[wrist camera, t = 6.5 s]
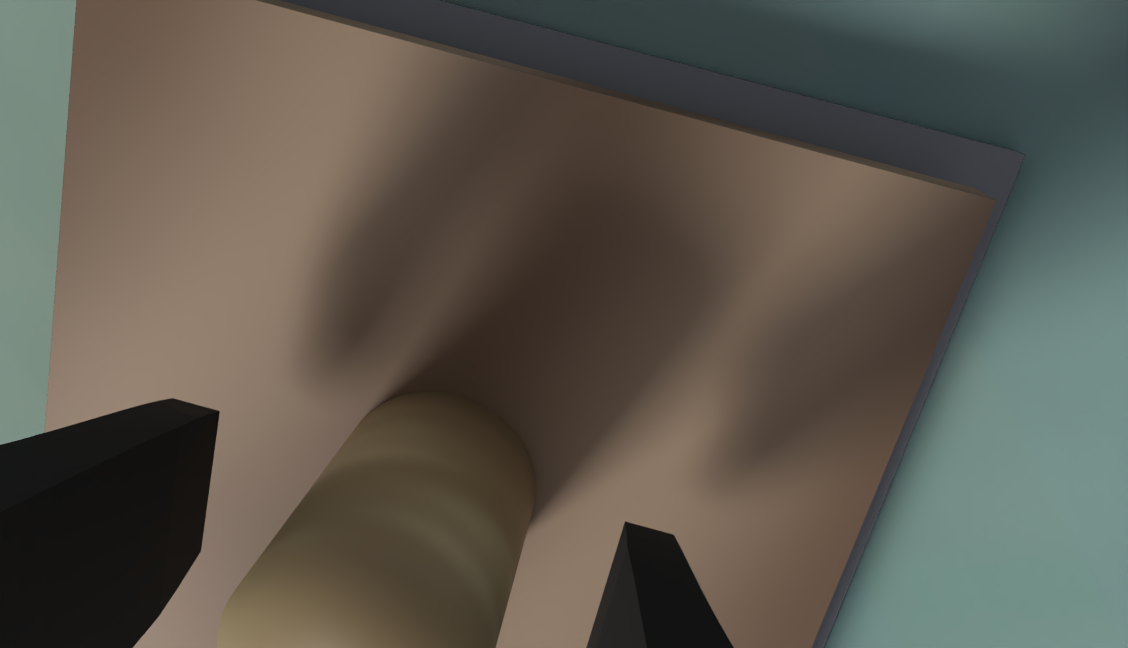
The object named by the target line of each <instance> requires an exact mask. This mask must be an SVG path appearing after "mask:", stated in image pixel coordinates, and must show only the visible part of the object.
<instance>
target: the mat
mask: <svg viewBox="0 0 1128 648" xmlns="http://www.w3.org/2000/svg"><path fill="white" fill-rule="evenodd" d="M280 1H284V2H288V3H291V4H295V5H299V6H303V7H306V8H310V9H314V10H317V11H321V12H325V13H328V14H332V15H336V16H340V17H343V18H347V19H351V20H354V21H358V22H362V23H365V24H369V25H373V26H377V27H380V28H384V29H388V30H391V31H395V32H399V33H402V34H406V35H410V36H414V37H417V38H421V39H425V40H428V41H432V42H436V43H439V44H443V45H447V46H451V47H454V48H458V49H462V50H465V51H469V52H473V53H476V54H480V55H484V56H487V57H491V58H495V59H499V60H502V61H506V62H510V63H513V64H517V65H521V66H524V67H528V68H532V69H536V70H539V71H543V72H547V73H550V74H554V75H558V76H561V77H565V78H569V79H573V80H576V81H580V82H584V83H587V84H591V85H595V86H598V87H602V88H606V89H610V90H613V91H617V92H621V93H624V94H628V95H632V96H635V97H639V98H643V99H647V100H650V101H654V102H658V103H661V104H665V105H669V106H672V107H676V108H680V109H684V110H687V111H691V112H695V113H698V114H702V115H706V116H709V117H713V118H717V119H721V120H724V121H728V122H732V123H735V124H739V125H743V126H746V127H750V128H754V129H758V130H761V131H765V132H769V133H772V134H776V135H780V136H783V137H787V138H791V139H795V140H798V141H802V142H806V143H809V144H813V145H817V146H820V147H824V148H828V149H831V150H835V151H839V152H843V153H846V154H850V155H854V156H857V157H861V158H865V159H868V160H872V161H876V162H880V163H883V164H887V165H891V166H894V167H898V168H902V169H905V170H909V171H913V172H917V173H920V174H924V175H928V176H931V177H935V178H939V179H942V180H946V181H950V182H954V183H957V184H961V185H965V186H968V187H972V188H976V189H978V190H979V191H981V192H983V193H984V194H986V195H988V196H989V197H991V198H993V199H994V200H996V202H995V205H994V207H993V210H992V212H991V214H990V217H989V219H988V222H987V224H986V227H985V229H984V231H983V234H982V236H981V239H980V241H979V244H978V246H977V248H976V251H975V253H974V256H973V258H972V260H971V263H970V265H969V268H968V270H967V273H966V275H965V277H964V280H963V282H962V285H961V287H960V289H959V292H958V294H957V297H956V299H955V302H954V304H953V306H952V309H951V311H950V314H949V316H948V319H947V321H946V323H945V326H944V328H943V331H942V333H941V335H940V338H939V340H938V343H937V345H936V348H935V350H934V352H933V355H932V357H931V360H930V362H929V364H928V367H927V369H926V372H925V374H924V377H923V379H922V381H921V384H920V386H919V389H918V391H917V394H916V396H915V398H914V401H913V403H912V406H911V408H910V410H909V413H908V415H907V418H906V420H905V423H904V425H903V427H902V430H901V432H900V435H899V437H898V439H897V442H896V444H895V447H894V449H893V452H892V454H891V456H890V459H889V461H888V464H887V466H886V469H885V471H884V473H883V476H882V478H881V481H880V483H879V485H878V488H877V490H876V493H875V495H874V498H873V500H872V502H871V505H870V507H869V510H868V512H867V514H866V517H865V519H864V522H863V524H862V527H861V529H860V531H859V534H858V536H857V539H856V541H855V543H854V546H853V548H852V551H851V553H850V556H849V558H848V560H847V563H846V565H845V568H844V570H843V573H842V575H841V577H840V580H839V582H838V585H837V587H836V589H835V592H834V594H833V597H832V599H831V602H830V604H829V606H828V609H827V611H826V614H825V616H824V618H823V621H822V623H821V626H820V628H819V631H818V633H817V635H816V638H815V640H814V643H813V645H812V648H824V646H825V644H826V641H827V639H828V636H829V634H830V631H831V629H832V626H833V624H834V622H835V619H836V617H837V614H838V612H839V609H840V607H841V604H842V602H843V600H844V597H845V595H846V592H847V590H848V587H849V585H850V582H851V580H852V578H853V575H854V573H855V570H856V568H857V565H858V563H859V560H860V558H861V556H862V553H863V551H864V548H865V546H866V543H867V541H868V538H869V536H870V534H871V531H872V529H873V526H874V524H875V521H876V519H877V516H878V514H879V512H880V509H881V507H882V504H883V502H884V499H885V497H886V494H887V492H888V490H889V487H890V485H891V482H892V480H893V477H894V475H895V473H896V470H897V468H898V465H899V463H900V460H901V458H902V455H903V453H904V451H905V448H906V446H907V443H908V441H909V438H910V436H911V433H912V431H913V429H914V426H915V424H916V421H917V419H918V416H919V414H920V411H921V409H922V407H923V404H924V402H925V399H926V397H927V394H928V392H929V389H930V387H931V385H932V382H933V380H934V377H935V375H936V372H937V370H938V367H939V365H940V363H941V360H942V358H943V355H944V353H945V350H946V348H947V345H948V343H949V341H950V338H951V336H952V333H953V331H954V328H955V326H956V323H957V321H958V319H959V316H960V314H961V311H962V309H963V306H964V304H965V301H966V299H967V297H968V294H969V292H970V289H971V287H972V284H973V282H974V280H975V277H976V275H977V272H978V270H979V267H980V265H981V262H982V260H983V258H984V255H985V253H986V250H987V248H988V245H989V243H990V240H991V238H992V236H993V233H994V231H995V228H996V226H997V223H998V221H999V218H1000V216H1001V214H1002V211H1003V209H1004V206H1005V204H1006V201H1007V199H1008V196H1009V194H1010V192H1011V189H1012V187H1013V184H1014V182H1015V179H1016V177H1017V174H1018V172H1019V170H1020V167H1021V165H1022V162H1023V160H1024V157H1025V154H1022V153H1020V152H1018V151H1014V150H1010V149H1006V148H1002V147H998V146H995V145H991V144H987V143H983V142H979V141H976V140H972V139H968V138H964V137H960V136H956V135H953V134H949V133H945V132H941V131H937V130H933V129H930V128H926V127H922V126H918V125H914V124H911V123H907V122H903V121H899V120H895V119H891V118H888V117H884V116H880V115H876V114H872V113H869V112H865V111H861V110H857V109H853V108H849V107H846V106H842V105H838V104H834V103H830V102H826V101H823V100H819V99H815V98H811V97H807V96H804V95H800V94H796V93H792V92H788V91H784V90H781V89H777V88H773V87H769V86H765V85H762V84H758V83H754V82H750V81H746V80H742V79H739V78H735V77H731V76H727V75H723V74H719V73H716V72H712V71H708V70H704V69H700V68H697V67H693V66H689V65H685V64H681V63H677V62H674V61H670V60H666V59H662V58H658V57H655V56H651V55H647V54H643V53H639V52H635V51H632V50H628V49H624V48H620V47H616V46H612V45H609V44H605V43H601V42H597V41H593V40H590V39H586V38H582V37H578V36H574V35H570V34H567V33H563V32H559V31H555V30H551V29H548V28H544V27H540V26H536V25H532V24H528V23H525V22H521V21H517V20H513V19H509V18H506V17H502V16H498V15H494V14H490V13H486V12H483V11H479V10H475V9H471V8H467V7H463V6H460V5H456V4H452V3H448V2H444V1H441V0H280Z"/></svg>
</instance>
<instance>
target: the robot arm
mask: <svg viewBox="0 0 1128 648" xmlns="http://www.w3.org/2000/svg"><path fill="white" fill-rule="evenodd" d="M219 414H220V411H218V410H214V409H211V408H207V407H203V406H200V405H196V404H192V403H189V402H185V401H181V400H178V399H174V398H170V399H165V400H160V401H155V402H151V403H147V404H143V405H139V406H135V407H132V408H128V409H124V410H121V411H118V412H114V413H111V414H107V415H104V416H100V417H97V418H94V419H90V420H87V421H84V422H80V423H77V424H73V425H70V426H66V427H63V428H60V429H56V430H53V431H49V432H46V433H42V434H39V435H36V436H32V437H29V438H25V439H22V440H18V441H14V442H10V443H6V444H2V445H0V648H133V647H134V646H135V644H136V643H137V642H138V641H139V640H140V638H141V637H142V636H143V635H144V634H145V633H146V631H147V630H148V629H149V628H150V627H151V625H152V624H153V623H154V622H155V621H156V619H157V618H158V617H159V616H160V614H161V613H162V611H163V610H164V608H165V607H166V605H167V604H168V602H169V601H170V599H171V598H172V596H173V595H174V593H175V592H176V590H177V589H178V587H179V586H180V584H181V582H182V581H183V579H184V578H185V576H186V574H187V573H188V571H189V570H190V568H191V566H192V565H193V563H194V562H195V560H196V558H197V557H198V555H199V554H200V552H201V548H202V540H203V533H204V526H205V518H206V511H207V503H208V496H209V488H210V481H211V473H212V466H213V459H214V451H215V444H216V436H217V429H218V421H219ZM586 648H734V647H733V645H732V644H731V642H730V640H729V638H728V637H727V635H726V633H725V632H724V630H723V628H722V626H721V625H720V623H719V621H718V619H717V618H716V616H715V614H714V612H713V610H712V608H711V606H710V605H709V603H708V601H707V599H706V597H705V595H704V593H703V591H702V589H701V587H700V585H699V583H698V581H697V579H696V577H695V575H694V573H693V571H692V569H691V567H690V565H689V563H688V561H687V559H686V557H685V555H684V553H683V551H682V549H681V547H680V545H679V543H678V541H677V540H676V538H675V536H674V535H673V534H670V533H666V532H662V531H659V530H655V529H651V528H648V527H644V526H640V525H637V524H633V523H629V522H626V521H625V523H624V526H623V530H622V533H621V536H620V539H619V543H618V546H617V549H616V552H615V556H614V559H613V562H612V565H611V569H610V572H609V575H608V579H607V582H606V585H605V588H604V592H603V595H602V598H601V601H600V605H599V608H598V611H597V614H596V618H595V621H594V624H593V627H592V631H591V634H590V637H589V641H588V644H587V647H586Z"/></svg>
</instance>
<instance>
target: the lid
mask: <svg viewBox="0 0 1128 648" xmlns="http://www.w3.org/2000/svg"><path fill="white" fill-rule="evenodd" d="M995 202H996V200H994V199H993V198H991V197H989V196H988V195H986V194H984V193H983V192H981V191H979V190H978V189H976V188H972V187H968V186H965V185H961V184H957V183H954V182H950V181H946V180H942V179H939V178H935V177H931V176H928V175H924V174H920V173H917V172H913V171H909V170H905V169H902V168H898V167H894V166H891V165H887V164H883V163H880V162H876V161H872V160H868V159H865V158H861V157H857V156H854V155H850V154H846V153H843V152H839V151H835V150H831V149H828V148H824V147H820V146H817V145H813V144H809V143H806V142H802V141H798V140H795V139H791V138H787V137H783V136H780V135H776V134H772V133H769V132H765V131H761V130H758V129H754V128H750V127H746V126H743V125H739V124H735V123H732V122H728V121H724V120H721V119H717V118H713V117H709V116H706V115H702V114H698V113H695V112H691V111H687V110H684V109H680V108H676V107H672V106H669V105H665V104H661V103H658V102H654V101H650V100H647V99H643V98H639V97H635V96H632V95H628V94H624V93H621V92H617V91H613V90H610V89H606V88H602V87H598V86H595V85H591V84H587V83H584V82H580V81H576V80H573V79H569V78H565V77H561V76H558V75H554V74H550V73H547V72H543V71H539V70H536V69H532V68H528V67H524V66H521V65H517V64H513V63H510V62H506V61H502V60H499V59H495V58H491V57H487V56H484V55H480V54H476V53H473V52H469V51H465V50H462V49H458V48H454V47H451V46H447V45H443V44H439V43H436V42H432V41H428V40H425V39H421V38H417V37H414V36H410V35H406V34H402V33H399V32H395V31H391V30H388V29H384V28H380V27H377V26H373V25H369V24H365V23H362V22H358V21H354V20H351V19H347V18H343V17H340V16H336V15H332V14H328V13H325V12H321V11H317V10H314V9H310V8H306V7H303V6H299V5H295V4H291V3H288V2H284V1H280V0H76V13H75V27H74V40H73V54H72V67H71V81H70V94H69V108H68V121H67V135H66V149H65V162H64V176H63V189H62V203H61V216H60V230H59V243H58V257H57V270H56V284H55V298H54V311H53V325H52V338H51V352H50V365H49V379H48V392H47V406H46V419H45V433H46V432H49V431H53V430H56V429H60V428H63V427H66V426H70V425H73V424H77V423H80V422H84V421H87V420H90V419H94V418H97V417H100V416H104V415H107V414H111V413H114V412H118V411H121V410H124V409H128V408H132V407H135V406H139V405H143V404H147V403H151V402H155V401H160V400H165V399H170V398H174V399H178V400H181V401H185V402H189V403H192V404H196V405H200V406H203V407H207V408H211V409H214V410H218V411H220V414H219V421H218V429H217V436H216V444H215V451H214V459H213V466H212V473H211V481H210V488H209V496H208V503H207V511H206V518H205V526H204V533H203V540H202V548H201V552H200V554H199V555H198V557H197V558H196V560H195V562H194V563H193V565H192V566H191V568H190V570H189V571H188V573H187V574H186V576H185V578H184V579H183V581H182V582H181V584H180V586H179V587H178V589H177V590H176V592H175V593H174V595H173V596H172V598H171V599H170V601H169V602H168V604H167V605H166V607H165V608H164V610H163V611H162V613H161V614H160V616H159V617H158V618H157V619H156V621H155V622H154V623H153V624H152V625H151V627H150V628H149V629H148V630H147V631H146V633H145V634H144V635H143V636H142V637H141V638H140V640H139V641H138V642H137V643H136V644H135V646H134V647H133V648H586V647H587V644H588V641H589V637H590V634H591V631H592V627H593V624H594V621H595V618H596V614H597V611H598V608H599V605H600V601H601V598H602V595H603V592H604V588H605V585H606V582H607V579H608V575H609V572H610V569H611V565H612V562H613V559H614V556H615V552H616V549H617V546H618V543H619V539H620V536H621V533H622V530H623V526H624V523H625V521H626V522H629V523H633V524H637V525H640V526H644V527H648V528H651V529H655V530H659V531H662V532H666V533H670V534H673V535H674V536H675V538H676V540H677V541H678V543H679V545H680V547H681V549H682V551H683V553H684V555H685V557H686V559H687V561H688V563H689V565H690V567H691V569H692V571H693V573H694V575H695V577H696V579H697V581H698V583H699V585H700V587H701V589H702V591H703V593H704V595H705V597H706V599H707V601H708V603H709V605H710V606H711V608H712V610H713V612H714V614H715V616H716V618H717V619H718V621H719V623H720V625H721V626H722V628H723V630H724V632H725V633H726V635H727V637H728V638H729V640H730V642H731V644H732V645H733V647H734V648H812V645H813V643H814V640H815V638H816V635H817V633H818V631H819V628H820V626H821V623H822V621H823V618H824V616H825V614H826V611H827V609H828V606H829V604H830V602H831V599H832V597H833V594H834V592H835V589H836V587H837V585H838V582H839V580H840V577H841V575H842V573H843V570H844V568H845V565H846V563H847V560H848V558H849V556H850V553H851V551H852V548H853V546H854V543H855V541H856V539H857V536H858V534H859V531H860V529H861V527H862V524H863V522H864V519H865V517H866V514H867V512H868V510H869V507H870V505H871V502H872V500H873V498H874V495H875V493H876V490H877V488H878V485H879V483H880V481H881V478H882V476H883V473H884V471H885V469H886V466H887V464H888V461H889V459H890V456H891V454H892V452H893V449H894V447H895V444H896V442H897V439H898V437H899V435H900V432H901V430H902V427H903V425H904V423H905V420H906V418H907V415H908V413H909V410H910V408H911V406H912V403H913V401H914V398H915V396H916V394H917V391H918V389H919V386H920V384H921V381H922V379H923V377H924V374H925V372H926V369H927V367H928V364H929V362H930V360H931V357H932V355H933V352H934V350H935V348H936V345H937V343H938V340H939V338H940V335H941V333H942V331H943V328H944V326H945V323H946V321H947V319H948V316H949V314H950V311H951V309H952V306H953V304H954V302H955V299H956V297H957V294H958V292H959V289H960V287H961V285H962V282H963V280H964V277H965V275H966V273H967V270H968V268H969V265H970V263H971V260H972V258H973V256H974V253H975V251H976V248H977V246H978V244H979V241H980V239H981V236H982V234H983V231H984V229H985V227H986V224H987V222H988V219H989V217H990V214H991V212H992V210H993V207H994V205H995Z"/></svg>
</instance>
